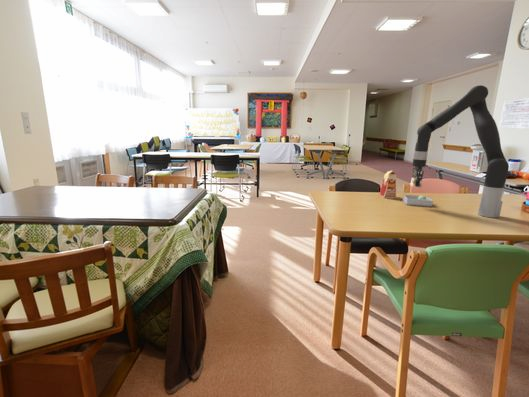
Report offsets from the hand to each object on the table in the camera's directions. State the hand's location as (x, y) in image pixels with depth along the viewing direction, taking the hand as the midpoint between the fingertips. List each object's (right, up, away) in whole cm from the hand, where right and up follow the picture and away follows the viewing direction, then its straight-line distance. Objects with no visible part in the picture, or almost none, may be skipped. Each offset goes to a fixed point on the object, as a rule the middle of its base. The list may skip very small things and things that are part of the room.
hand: (415, 185), depth 186 cm
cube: (0, -1, 0) cm, 0 cm away
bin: (+6, -12, +10) cm, 16 cm away
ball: (+9, -11, +9) cm, 17 cm away
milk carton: (-7, -7, +27) cm, 29 cm away
